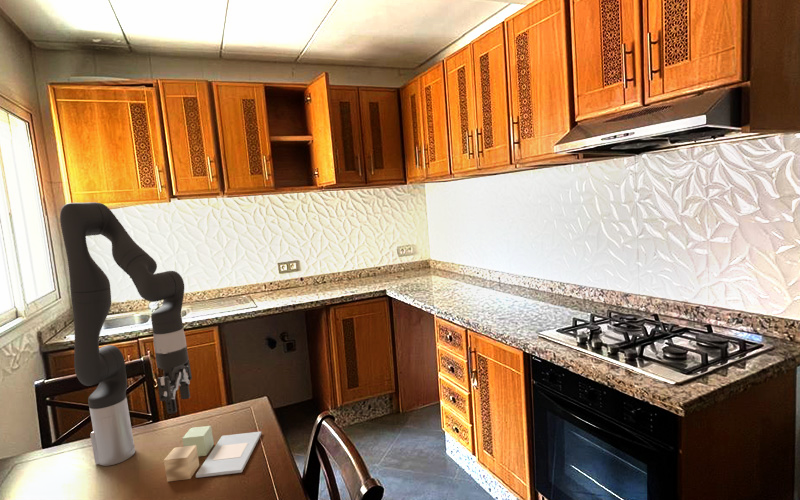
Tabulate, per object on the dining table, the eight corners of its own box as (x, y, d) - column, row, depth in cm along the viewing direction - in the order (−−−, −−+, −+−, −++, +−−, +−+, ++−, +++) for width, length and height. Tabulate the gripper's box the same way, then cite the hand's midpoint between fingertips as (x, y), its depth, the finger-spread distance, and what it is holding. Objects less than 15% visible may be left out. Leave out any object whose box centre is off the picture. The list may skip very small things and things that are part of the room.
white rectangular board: (196, 477, 118) (195, 474, 118) (222, 438, 138) (221, 435, 137) (241, 472, 118) (241, 469, 118) (261, 433, 138) (261, 431, 138)
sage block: (185, 457, 128) (182, 438, 128) (193, 446, 134) (190, 427, 134) (206, 455, 129) (203, 435, 128) (213, 444, 135) (211, 425, 134)
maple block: (167, 481, 117) (163, 460, 117) (177, 468, 123) (174, 447, 123) (190, 478, 118) (187, 457, 117) (199, 465, 124) (196, 445, 123)
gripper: (168, 340, 125) (176, 395, 127) (142, 357, 111) (152, 420, 112) (195, 337, 125) (203, 392, 127) (173, 354, 111) (182, 416, 113)
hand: (179, 405), depth 120 cm, fingers open, 8 cm apart
